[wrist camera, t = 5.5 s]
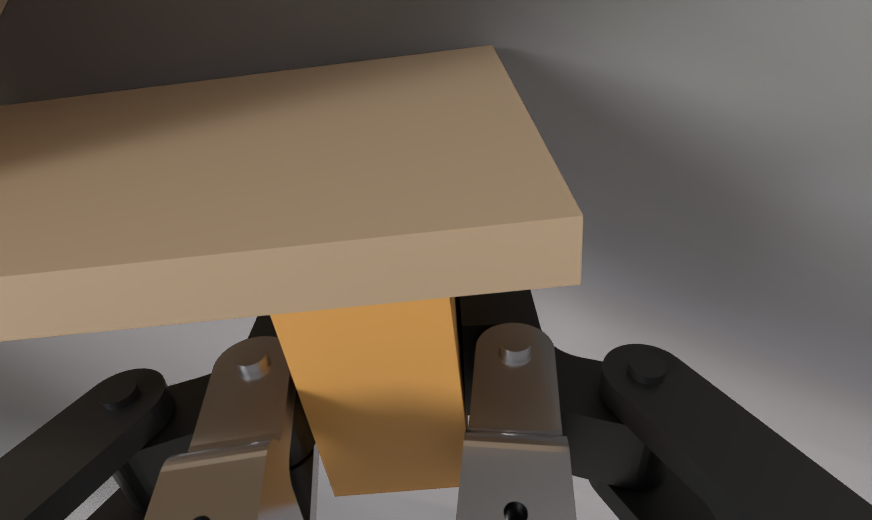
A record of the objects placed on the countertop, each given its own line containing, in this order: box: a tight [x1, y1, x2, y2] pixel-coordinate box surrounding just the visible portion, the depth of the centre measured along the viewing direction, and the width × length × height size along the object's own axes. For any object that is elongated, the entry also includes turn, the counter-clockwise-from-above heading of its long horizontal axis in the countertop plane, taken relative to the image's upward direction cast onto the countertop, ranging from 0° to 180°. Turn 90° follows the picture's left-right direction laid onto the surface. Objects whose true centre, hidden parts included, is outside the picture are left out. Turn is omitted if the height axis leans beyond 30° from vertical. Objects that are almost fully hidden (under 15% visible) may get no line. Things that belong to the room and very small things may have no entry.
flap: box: [0, 45, 583, 496], centre depth 13 cm, size 5×16×11 cm, turn 97°
